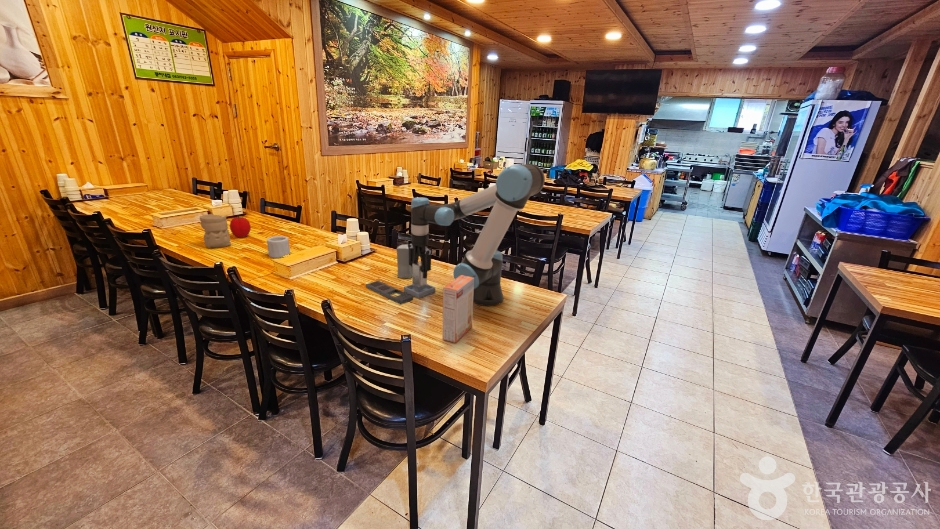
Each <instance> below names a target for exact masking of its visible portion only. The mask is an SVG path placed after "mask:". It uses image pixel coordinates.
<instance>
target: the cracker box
mask: <svg viewBox="0 0 940 529" xmlns="http://www.w3.org/2000/svg"><path fill="white" fill-rule="evenodd" d="M442 294H443V295H442V340H444V341H448V342H450V343H454V344H457V343H458V342H459V340H461V338H462V337H464V336H465V334H466V333H467V332H468V331H469V330H470V329H472V327H473V312H474V311H473V310H474V302H473V294H474V278H473V277H468V276H464V275H460V276H459V277H458V278H456V279H455V278H454V280H452V281H450V282H449V283H448V284H446V285H444V286H443V288H442Z"/></svg>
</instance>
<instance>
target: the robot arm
mask: <svg viewBox="0 0 940 529" xmlns="http://www.w3.org/2000/svg"><path fill="white" fill-rule="evenodd" d="M545 180H546V178H545V173H544V171H543V170H542V169H541V167H539V166H538V165H537V164H533V163H526V164H512V165H510V166H508V167H506V168H504V169H503V170H502V171H500V173H499V174H498V176H497V178H496V181H495V184H493V185H492V186H489V187H487V188H485V189H483V190H479V191H478V192H475V193H473V194H471V195H468V196H465V197H463V198H461V199H459V200H456V201H454V202H451V203H445V204H441V205H435V204H430V199H429V198H427V197H424V196H423V197H421V196H420V197H418V196H417V197H413V198H411V202H410V203H411V205H410V211H411V212H410V215H411V222H410V223H411V224H410V226H411V227H410V230H411V231H410V232H411V234H410V238H411V239H410V240H411V243H407V245H408V249H409V265H411V266H412V264H413V263H416V262H419V259H420V262H421V265H422V271H421V285H424V284H426V278H427V279H428V272H430V271H431V270H432V254H433V250H432V249H429V247H428V242H429V232H430V231H429V227H430V226H429V224H435V225H439V226H445V227H447V226H451V225H452V223H453V222H454V221H456V220H461V219H464V218H466V217H467V216H470V215H472V214H475V213H477V212H481V211H483V210H485V209H487V208H490V207H492V208H491V211H490V213H489V215H488V217H487V219H486V221H485V223H484V225H483V227H482V229H481V230H480V233H479V235H478V237H477V239H476V242H475V243H474V246H473V248H472V249H471V250H468V251H467V252H466V253H465V255H464V257H463V259H462V262H460V263H458V264H457V265H455V267H454V268H453V278H454V280H455V279H456V278H458V277H459V276H460V275H464V276H468V277H473V278H474V294H473V304H477V305H480V306H487V307H488V306H489V307H490V306H491V307H492V305H493V306H497V304H498V305H500V304H501V303H502V302H504V294H503V290H502V286H501V283H502V282H501V279H502V269H503V268H502V267H503V261H504V260H503V258H504V257H503V253H502V252H501V251H499V250H498V248H499V246H500V244H501V243H502V240H503V239H504V237H505V235H506V233H507V231H508V230H509V227H510V226H511V224H512V222H513V220H514V218H515V216H516V214H517V213H518V211H520V210H523V209H524V208H525V206H526V204H527V203H528V201H529V199H530V197H532V196H535V195H537V194H538V193H540V192H541V191H542V190H543V188H544V185H545ZM499 303H500V304H499Z"/></svg>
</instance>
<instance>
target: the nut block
mask: <svg viewBox="0 0 940 529" xmlns="http://www.w3.org/2000/svg"><path fill="white" fill-rule="evenodd" d="M421 271H422V265H421V261H418V262H416V263H413V264H412V277H411V279H412V281H411V282H412V288H413V289H416V290H418V291H421V290H424V289H426V288H427V284H428V277H427V278H426V284H424V285H421Z"/></svg>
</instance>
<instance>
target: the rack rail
mask: <svg viewBox="0 0 940 529" xmlns="http://www.w3.org/2000/svg"><path fill="white" fill-rule="evenodd" d="M365 288H367V289H369V291H373V292H375V293H377V294H379V295H381V296H383V297H385V298H387V299H388V300H391V301H392V302H395V303H397V304H399V305H403V304H406V303H408V302H410V301H413V300H414V296H412V295H409V294H407V293H405V292H404V291H402V290H400V289H398V288H396V287H393V285H392V286H391V285H389V284H387V283H384V282H383V281H380V280H375V281H373V282H372V281H371V282H369V283H365ZM393 294H398V295H396V296H393Z"/></svg>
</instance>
